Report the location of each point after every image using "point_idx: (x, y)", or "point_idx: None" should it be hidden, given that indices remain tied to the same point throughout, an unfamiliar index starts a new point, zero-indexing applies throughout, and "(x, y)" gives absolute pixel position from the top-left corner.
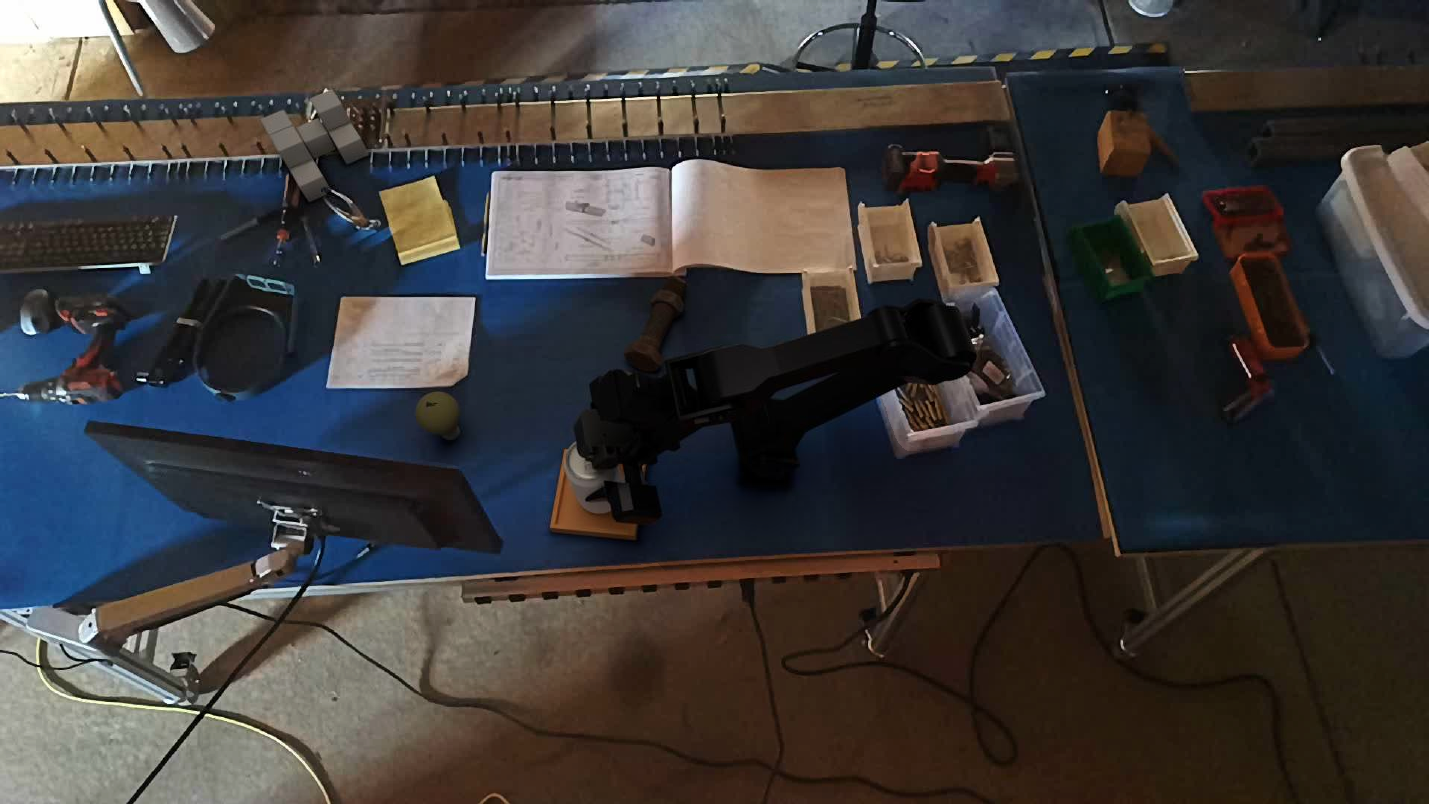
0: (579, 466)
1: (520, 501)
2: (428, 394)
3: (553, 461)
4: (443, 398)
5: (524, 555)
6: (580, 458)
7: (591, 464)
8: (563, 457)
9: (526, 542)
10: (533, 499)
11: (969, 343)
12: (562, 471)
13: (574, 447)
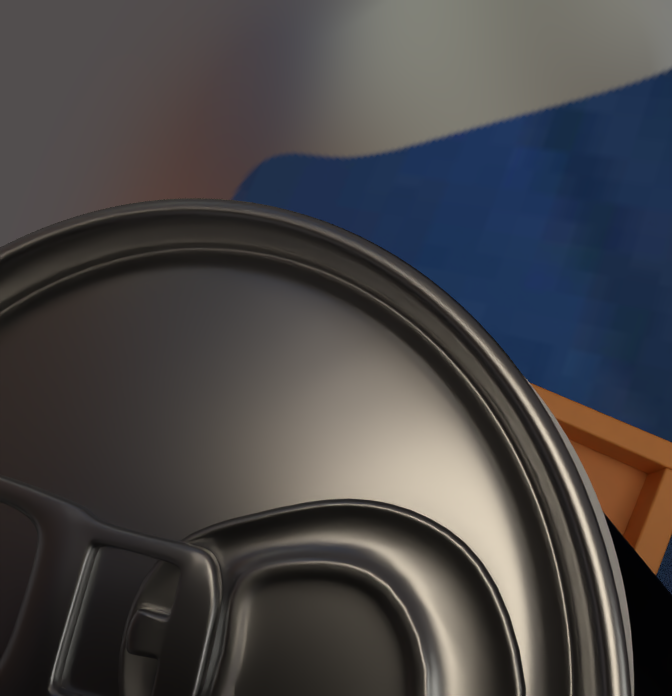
0: (79, 404)
1: (485, 216)
2: None
3: (648, 392)
4: None
5: (263, 195)
6: (206, 465)
7: (2, 625)
8: (645, 434)
9: (307, 209)
10: (476, 266)
11: None
12: (556, 406)
13: (459, 422)
